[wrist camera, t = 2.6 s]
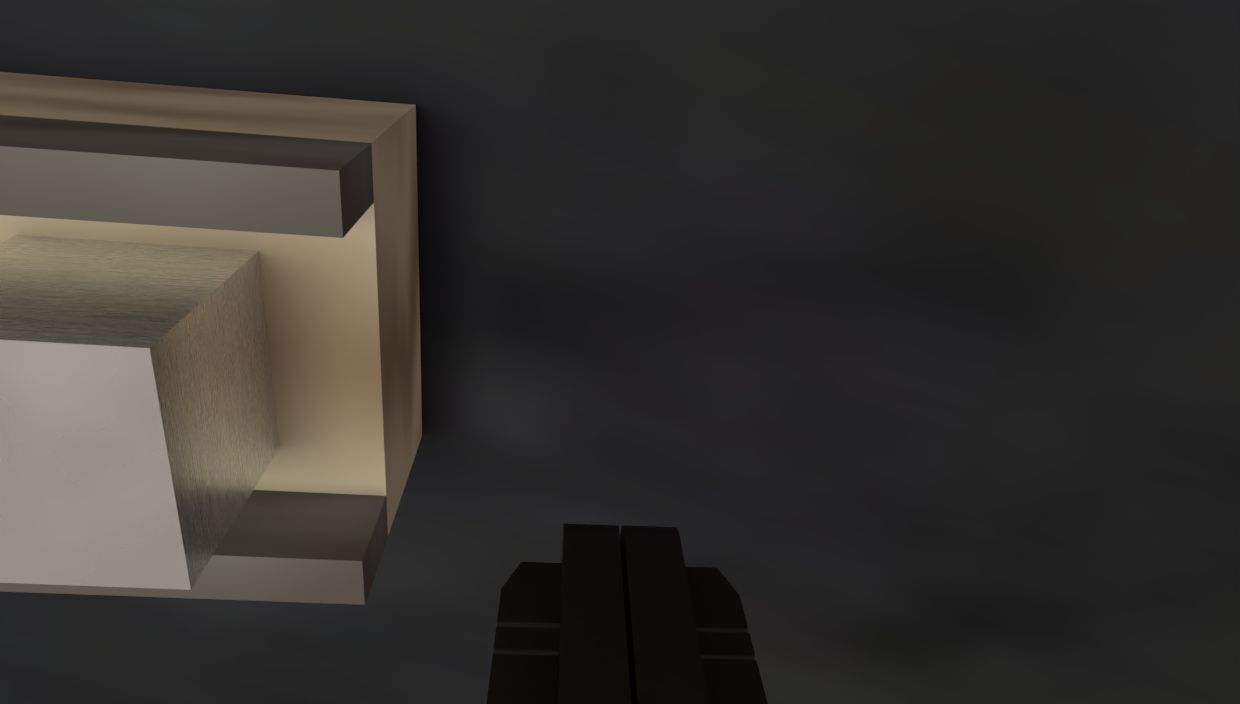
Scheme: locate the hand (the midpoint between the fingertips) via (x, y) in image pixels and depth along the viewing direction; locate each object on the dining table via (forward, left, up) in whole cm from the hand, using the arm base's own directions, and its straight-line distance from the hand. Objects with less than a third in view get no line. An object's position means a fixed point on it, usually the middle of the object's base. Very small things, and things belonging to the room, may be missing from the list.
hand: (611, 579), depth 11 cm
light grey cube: (0, -8, -5) cm, 10 cm away
